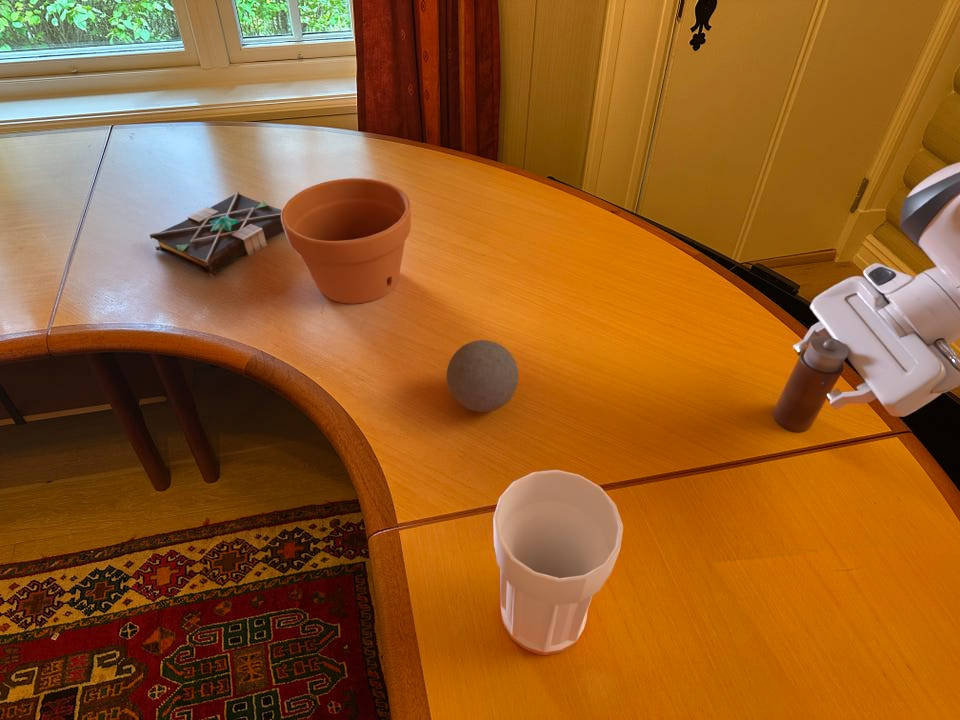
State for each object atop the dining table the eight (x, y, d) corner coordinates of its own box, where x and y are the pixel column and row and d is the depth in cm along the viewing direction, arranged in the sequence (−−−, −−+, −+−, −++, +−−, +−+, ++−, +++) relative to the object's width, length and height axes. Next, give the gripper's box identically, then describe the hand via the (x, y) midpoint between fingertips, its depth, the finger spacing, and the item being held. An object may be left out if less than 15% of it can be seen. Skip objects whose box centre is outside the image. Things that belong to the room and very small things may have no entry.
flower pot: (363, 333, 99) (350, 255, 89) (273, 291, 107) (252, 216, 97) (439, 271, 112) (435, 197, 102) (353, 238, 120) (342, 167, 110)
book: (212, 279, 109) (203, 255, 106) (153, 251, 116) (144, 228, 113) (299, 227, 123) (294, 205, 120) (242, 205, 130) (236, 183, 126)
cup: (569, 550, 70) (588, 456, 58) (615, 645, 62) (648, 558, 50) (476, 579, 67) (476, 486, 56) (512, 682, 59) (521, 600, 48)
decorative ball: (509, 373, 92) (511, 322, 85) (523, 422, 84) (527, 370, 78) (443, 380, 90) (440, 329, 84) (452, 431, 83) (450, 379, 76)
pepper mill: (818, 430, 83) (864, 353, 74) (783, 433, 83) (823, 356, 73) (800, 403, 87) (840, 326, 78) (765, 406, 87) (802, 329, 77)
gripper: (985, 389, 67) (863, 448, 74) (884, 282, 82) (789, 339, 89) (969, 361, 64) (842, 426, 70) (867, 255, 79) (770, 316, 85)
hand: (812, 376), depth 80 cm, fingers open, 8 cm apart
